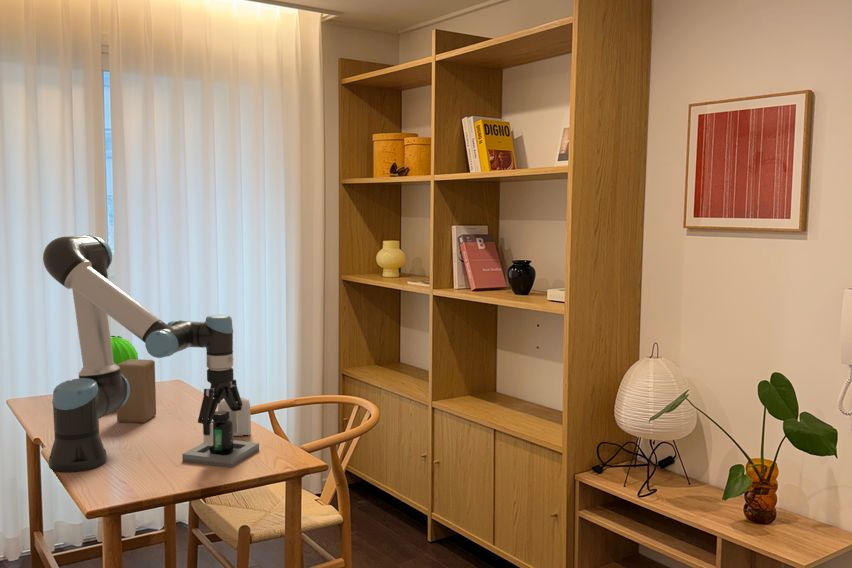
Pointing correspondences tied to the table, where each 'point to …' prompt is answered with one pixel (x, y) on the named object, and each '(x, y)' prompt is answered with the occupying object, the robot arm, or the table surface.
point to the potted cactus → (122, 350)
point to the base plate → (205, 457)
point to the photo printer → (240, 416)
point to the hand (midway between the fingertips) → (221, 438)
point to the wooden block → (138, 391)
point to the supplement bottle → (222, 434)
